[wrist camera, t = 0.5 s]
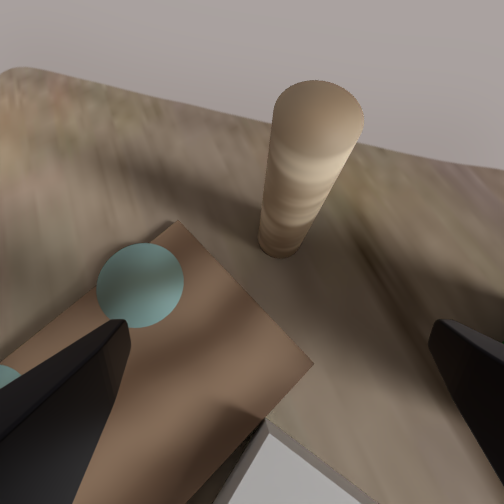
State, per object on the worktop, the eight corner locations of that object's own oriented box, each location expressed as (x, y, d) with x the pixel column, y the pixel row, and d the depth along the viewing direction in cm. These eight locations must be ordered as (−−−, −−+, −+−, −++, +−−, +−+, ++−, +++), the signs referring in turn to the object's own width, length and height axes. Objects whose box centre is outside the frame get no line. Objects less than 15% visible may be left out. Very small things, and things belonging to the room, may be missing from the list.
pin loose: (310, 238, 24) (382, 118, 11) (279, 267, 23) (321, 171, 10) (279, 209, 24) (316, 66, 12) (249, 236, 24) (254, 112, 11)
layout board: (310, 362, 21) (314, 363, 20) (59, 634, 16) (44, 656, 15) (173, 217, 24) (169, 210, 23) (-71, 411, 19) (-91, 415, 18)
